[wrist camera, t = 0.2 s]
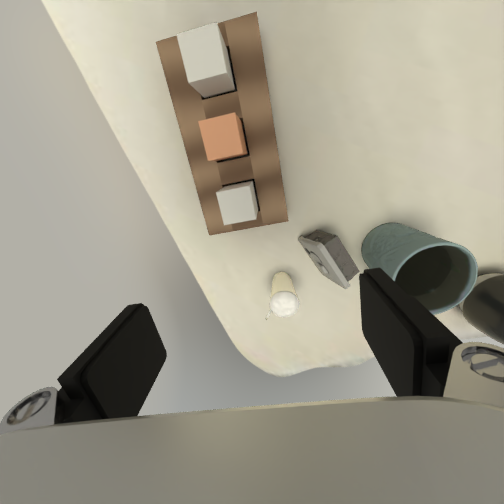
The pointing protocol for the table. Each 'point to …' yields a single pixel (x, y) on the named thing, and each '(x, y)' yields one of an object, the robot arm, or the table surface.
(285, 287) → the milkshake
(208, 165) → the socket board
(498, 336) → the pump dispenser
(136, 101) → the table surface
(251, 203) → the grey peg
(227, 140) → the terracotta peg
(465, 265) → the teal plant pot
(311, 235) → the electrical switch
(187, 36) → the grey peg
